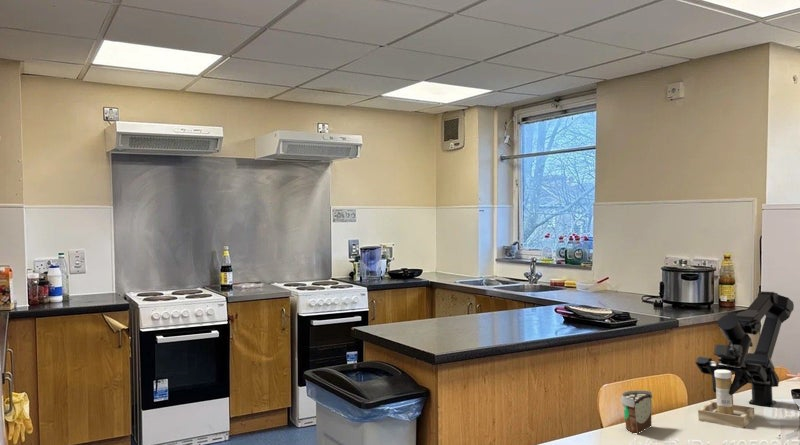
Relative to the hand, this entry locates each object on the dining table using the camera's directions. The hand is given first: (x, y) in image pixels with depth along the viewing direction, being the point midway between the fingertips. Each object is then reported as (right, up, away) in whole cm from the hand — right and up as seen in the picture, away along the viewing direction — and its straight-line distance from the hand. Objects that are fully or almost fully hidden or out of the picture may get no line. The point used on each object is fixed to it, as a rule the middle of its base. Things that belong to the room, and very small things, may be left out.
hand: (722, 392), depth 180 cm
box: (+2, -8, +1) cm, 9 cm away
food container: (-27, -10, -4) cm, 29 cm away
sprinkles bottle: (+1, -7, +1) cm, 7 cm away
